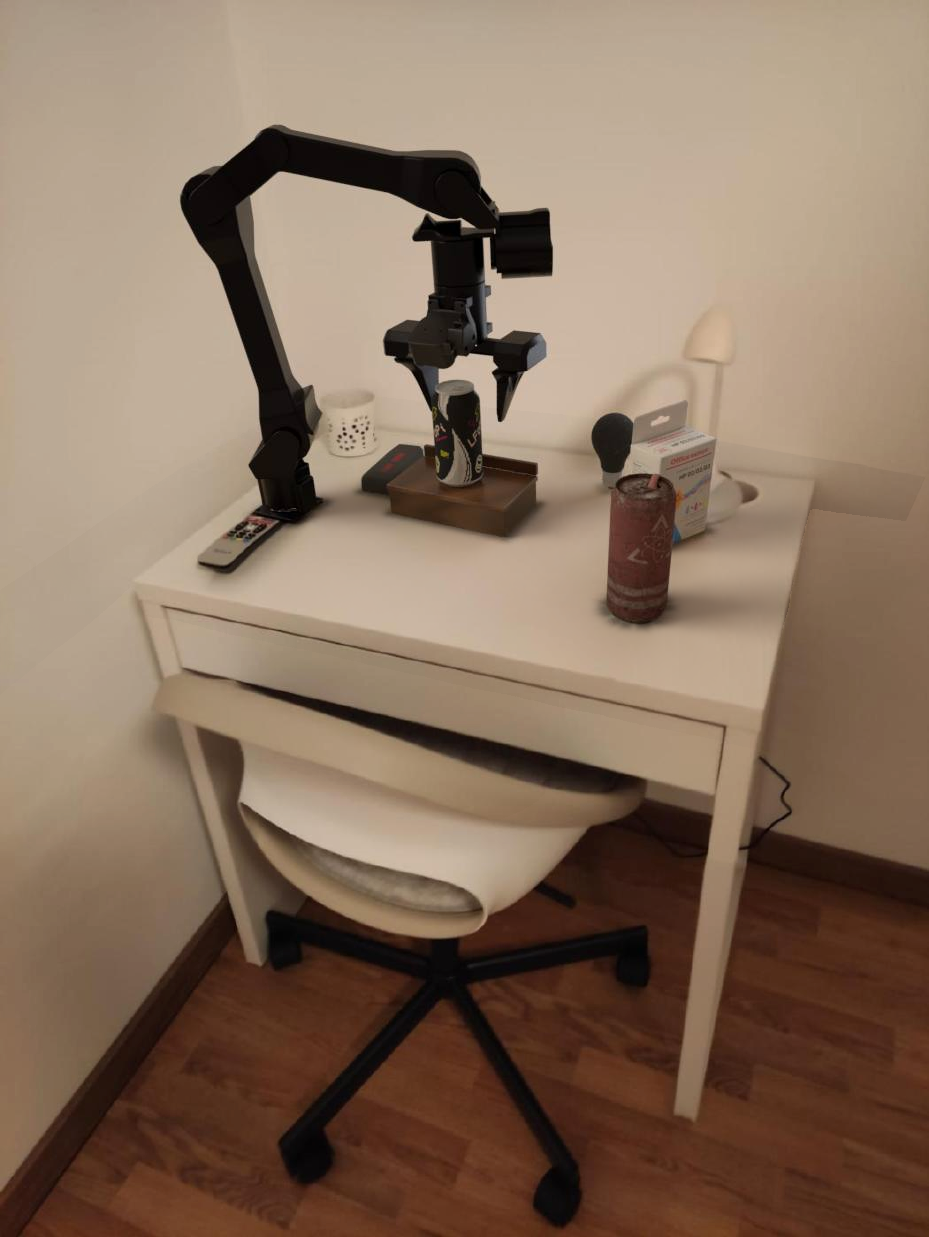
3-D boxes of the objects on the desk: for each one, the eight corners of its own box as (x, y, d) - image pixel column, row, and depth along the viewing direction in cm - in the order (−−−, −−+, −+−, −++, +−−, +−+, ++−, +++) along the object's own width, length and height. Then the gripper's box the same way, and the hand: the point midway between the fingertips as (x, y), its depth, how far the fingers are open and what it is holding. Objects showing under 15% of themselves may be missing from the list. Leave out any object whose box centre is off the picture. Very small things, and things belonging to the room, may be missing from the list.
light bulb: (640, 483, 114) (645, 409, 109) (622, 501, 110) (626, 425, 105) (601, 475, 117) (603, 403, 111) (582, 492, 113) (584, 418, 107)
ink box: (653, 553, 99) (663, 430, 91) (623, 537, 103) (630, 417, 95) (707, 530, 103) (721, 410, 95) (676, 515, 107) (687, 397, 98)
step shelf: (389, 513, 111) (384, 473, 108) (427, 482, 118) (424, 443, 115) (506, 538, 104) (504, 496, 101) (539, 503, 111) (539, 463, 108)
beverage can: (471, 493, 106) (466, 396, 99) (429, 486, 108) (421, 391, 101) (490, 473, 110) (487, 379, 103) (449, 467, 112) (443, 375, 105)
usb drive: (361, 491, 117) (359, 472, 115) (400, 455, 126) (398, 437, 124) (397, 496, 115) (395, 477, 113) (434, 459, 124) (432, 441, 122)
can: (673, 596, 92) (684, 474, 84) (657, 629, 87) (668, 503, 79) (616, 586, 94) (623, 466, 86) (598, 617, 90) (603, 493, 82)
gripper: (348, 293, 95) (365, 429, 104) (502, 307, 87) (506, 453, 96) (402, 269, 103) (414, 397, 112) (548, 279, 95) (548, 417, 104)
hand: (467, 415), depth 106 cm, fingers open, 9 cm apart
